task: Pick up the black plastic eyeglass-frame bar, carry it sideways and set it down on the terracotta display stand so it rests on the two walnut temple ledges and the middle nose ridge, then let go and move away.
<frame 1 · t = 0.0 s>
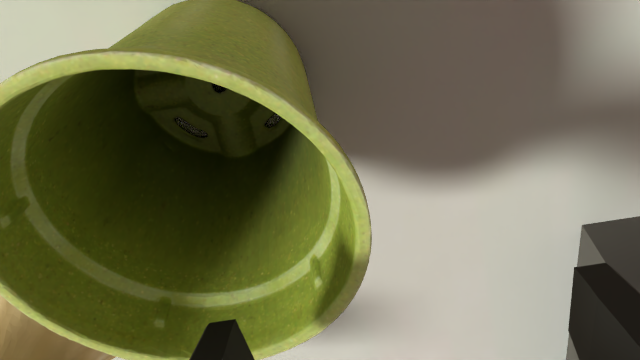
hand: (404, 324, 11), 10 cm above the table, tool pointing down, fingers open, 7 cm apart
hand bell: (55, 307, 26), on the table
plant pot: (221, 79, 19), on the table
frame bar: (605, 305, 27), on the table
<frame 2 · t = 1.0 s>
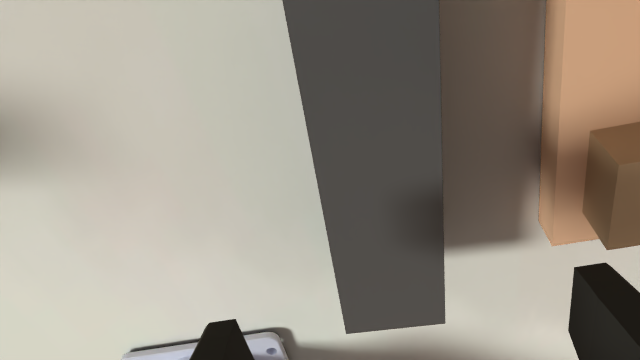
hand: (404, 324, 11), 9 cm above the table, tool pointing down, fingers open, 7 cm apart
frame bar: (368, 118, 19), on the table
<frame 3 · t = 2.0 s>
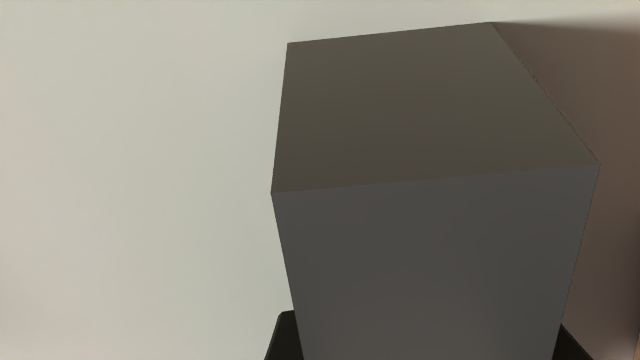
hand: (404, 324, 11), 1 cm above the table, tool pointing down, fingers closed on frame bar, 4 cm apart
frame bar: (394, 269, 13), on the table, touching gripper
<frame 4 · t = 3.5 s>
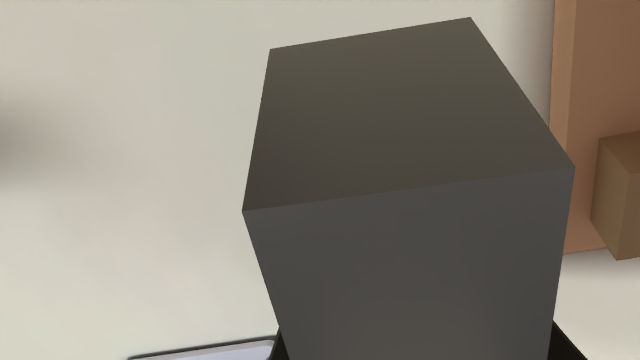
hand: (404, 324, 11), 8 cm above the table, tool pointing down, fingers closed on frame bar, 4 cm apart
frame bar: (395, 273, 13), point 7 cm above the table, touching gripper
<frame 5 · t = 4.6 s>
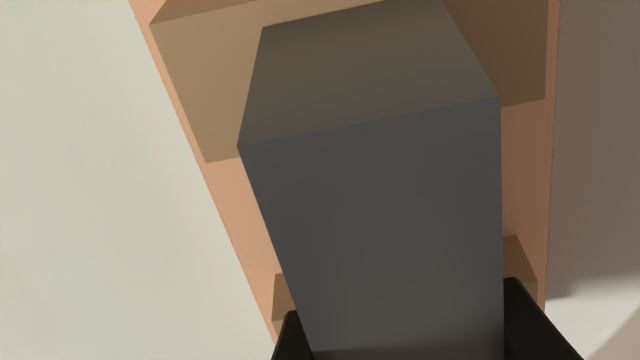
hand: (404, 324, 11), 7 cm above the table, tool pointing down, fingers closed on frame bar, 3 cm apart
display stand: (374, 155, 17), on the table
frame bar: (387, 229, 14), point 4 cm above the table, touching gripper
when the fingers open (6 cm above the table, at t = 5.0 s): frame bar stays where it is, resting on display stand.
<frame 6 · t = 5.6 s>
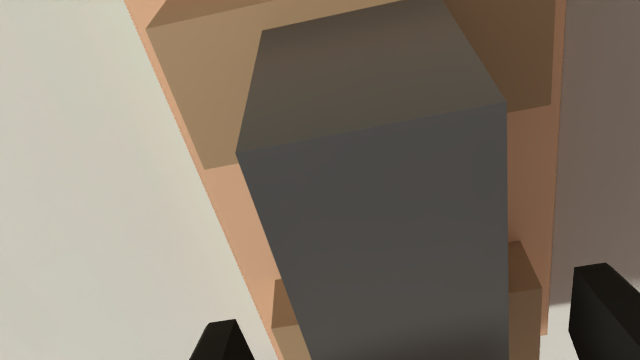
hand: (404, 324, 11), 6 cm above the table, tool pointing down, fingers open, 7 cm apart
display stand: (376, 159, 17), on the table
frame bar: (389, 235, 14), point 3 cm above the table, touching display stand
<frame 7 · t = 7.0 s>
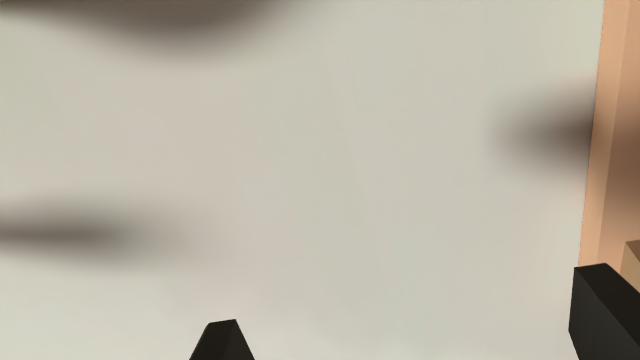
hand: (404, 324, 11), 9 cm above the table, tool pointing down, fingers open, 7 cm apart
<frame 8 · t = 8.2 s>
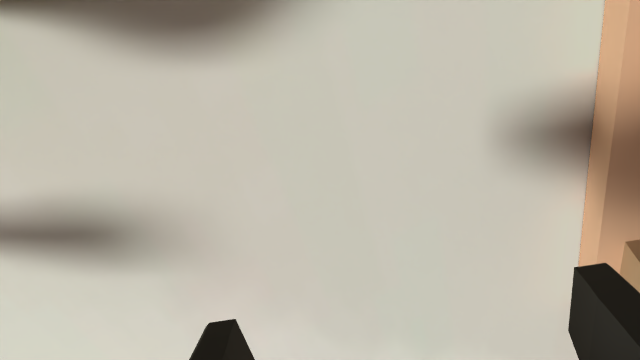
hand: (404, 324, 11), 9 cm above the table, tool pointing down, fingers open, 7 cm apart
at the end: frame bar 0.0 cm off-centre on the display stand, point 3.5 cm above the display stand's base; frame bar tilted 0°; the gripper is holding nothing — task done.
